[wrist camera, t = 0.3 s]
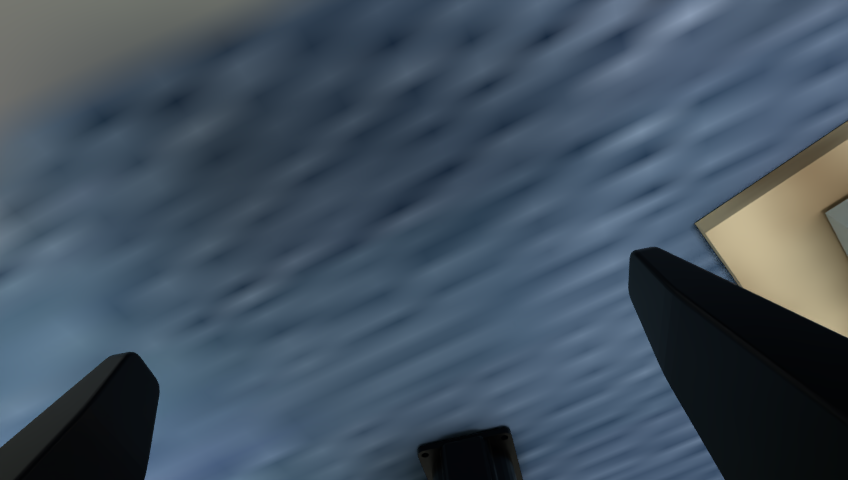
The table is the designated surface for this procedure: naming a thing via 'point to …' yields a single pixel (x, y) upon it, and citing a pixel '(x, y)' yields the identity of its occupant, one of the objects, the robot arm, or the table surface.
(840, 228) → the grey block
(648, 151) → the table surface
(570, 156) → the table surface
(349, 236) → the table surface
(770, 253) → the gauge track
